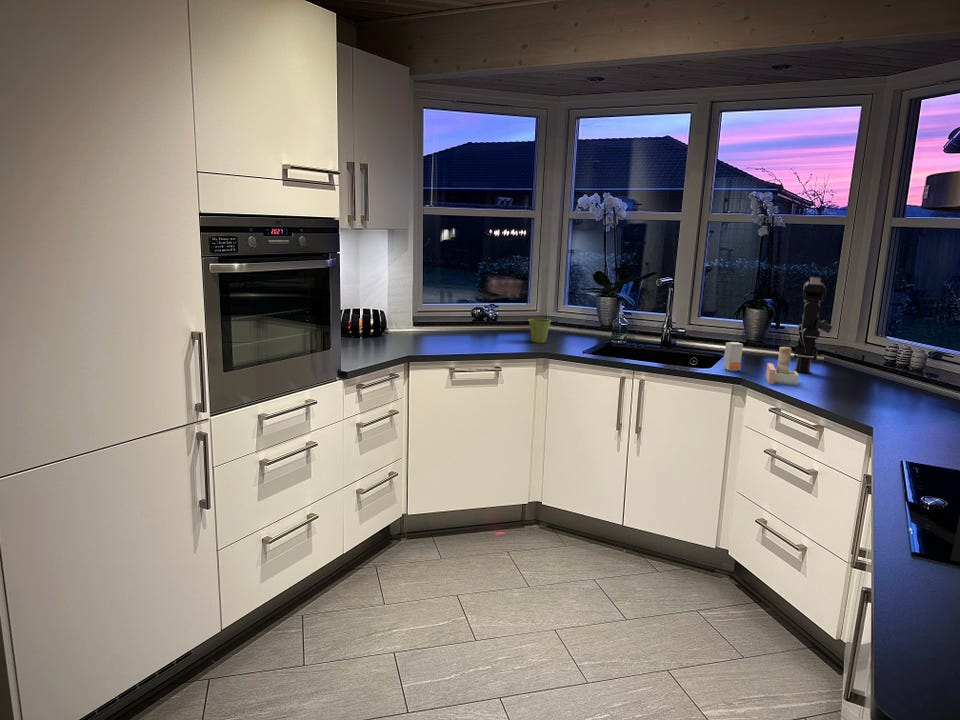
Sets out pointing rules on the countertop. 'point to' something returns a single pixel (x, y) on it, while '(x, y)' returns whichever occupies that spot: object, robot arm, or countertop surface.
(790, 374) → the cradle
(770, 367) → the backstop wall
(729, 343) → the skincare box
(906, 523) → the countertop surface
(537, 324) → the plant pot
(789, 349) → the dowel
